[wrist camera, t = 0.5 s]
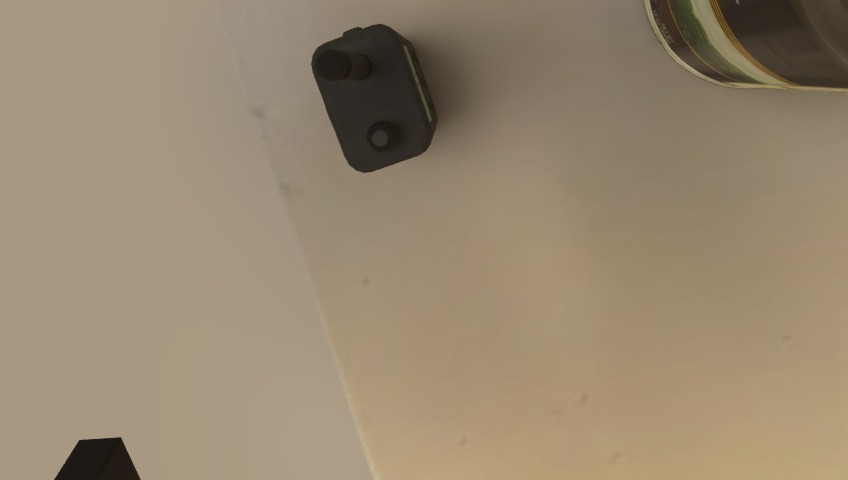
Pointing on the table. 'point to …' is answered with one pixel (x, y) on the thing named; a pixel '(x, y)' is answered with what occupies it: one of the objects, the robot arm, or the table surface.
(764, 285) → the table surface
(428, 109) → the walkie-talkie
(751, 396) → the table surface
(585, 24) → the table surface
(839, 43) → the coffee can
